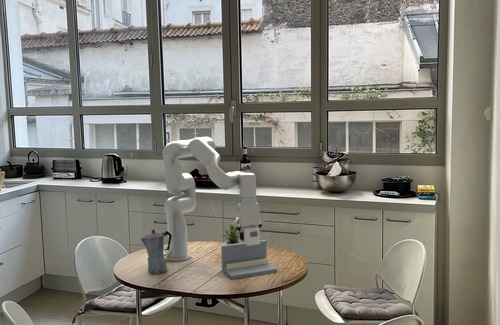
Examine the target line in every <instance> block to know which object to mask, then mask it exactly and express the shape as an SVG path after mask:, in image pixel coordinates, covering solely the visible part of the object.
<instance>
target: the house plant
mask: <svg viewBox="0 0 500 325" xmlns="http://www.w3.org/2000/svg"><path fill="white" fill-rule="evenodd" d="M232 224H233V223H231V222H229V225H230V226H229V231H228V230H227V228H226V227H225V226H223V225H221V227H222V228H221V229H220V230H222V231H224V232H225V234H223V235H222V236H221V238H222V237H223V238H224V241H225V240H226V242H225V243H226V244H225V245H230V244H237V243H241V240H239V231H238V230H237V229H236V228H235V227H234V226H233V225H232ZM223 228H224V230H223ZM229 232H230V233H229Z"/></svg>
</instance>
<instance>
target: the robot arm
mask: <svg viewBox="0 0 500 325" xmlns="http://www.w3.org/2000/svg"><path fill="white" fill-rule="evenodd" d="M189 157H190V158H191V157H194V158H196V160H198V161H199V162H200V163H201V164H202V165H203V166H205V168H206V172H207V175H208V177H209V179H210V180H211V181H212V182H213V183H214V184H215V185H216V186H217V187H218V188H220V189H221V190H223V191H228V190H233V189H237V188H239V190H238V192H239V196H238V198H236V203H238V205H237V210H236V211H237V212H236V219H235V220H234V221H233V222H232V223H231V224H232V225H233V226H234V227H235V228H236V229H237V232H238V231H239V233H238V235H239V238H240V239H241V240H240V241H241V242H242V241H244V232H243V229H244V227H246V226H254V225H255V226H256V227H258V228H259V229H260V230H261V228H262V226H263V225H264V224H265V222H266V221H265V220H264V219H263V218H262V217H261V209H260V204H259V202H257V181H256V180H257V177H256V173H254V172H243V171H238V170H235V171H229V172H225V171H224V170H222V169H221V168H220V167H219V165H218V164H219V162H220V160H221V155H220V153H218V151H216V143H215V141H214V139H213V138H211V137H209V136H201V137H195V138H191V139H184V140H183V139H182V140H175V141H171V142H169V143H167V144H166V145H165V146H164V147H163V150H162V160H163V165H164V177H165V187H166V191H167V193H168V194H171V195H175V196H172V197H169V198H168V199H167V200H166V201H165V202H164V207H163V208H164V211H165V215H166V224H167V231H168V232H169V233H170V234H171V235H172V238H171V242H170V248H169V250H168V251H165V250H163V255H164V257H165V260H167V261H171V262H181V261H186V260H189V259H190V258H191V257H192V254H191V253H190V252H189V251H188V250H189V249H188V234H187V232H188V231H187V230H188V228H187V221H186V219H185V217H184V214H186V213H190V212H193V211H194V210H195V208H196V206H197V193H196V182H195V179H194V177H193V176H192V174H190V173H188V172H183V166H182V164H181V160H179V159H181V158H182V159H183V158H189ZM177 194H178V195H177ZM238 224H239V225H240V226H239V227H238ZM239 238H238V239H239ZM168 240H169V235H167V241H168Z"/></svg>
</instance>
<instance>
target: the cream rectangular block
mask: <svg viewBox="0 0 500 325" xmlns="http://www.w3.org/2000/svg"><path fill="white" fill-rule="evenodd" d="M237 226H238V227H239V226H240V225H239V224H237ZM243 232H244V241H242V240H241V239H240V238H238V239H239V240H238V241H241V243H245V244H246V245H247V246H250V245H257V244H260V240H261V228H260V229H259V228H258V227H256V226H255V225H254V226H246V227H244V229H243Z"/></svg>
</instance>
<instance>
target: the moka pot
mask: <svg viewBox="0 0 500 325" xmlns="http://www.w3.org/2000/svg"><path fill="white" fill-rule="evenodd" d="M168 235H169V240H168V239H167V242H168V243H167V247H166V248H165V249H164V243H165V242H164V240H165V239H164V238H165V237H166V236H168ZM171 238H172V235H171V234H170V233H169V232H168V230H165V231H162V232H156V230H155V229H151V233H147V234H146V235H144V236H143V237H141V238H140V241H141V242H142V243H143V245H144V246H145V248H146V249H145V250H146V252H147V256H148V257H147V273H148V274H150V275H151V274H152V275H157V274H162V273H165V272H166V271H167V270H168V267H167V261H166V257H165V256H164V255H163V252H164V251H168V250H169V248H170V242H171Z"/></svg>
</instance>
